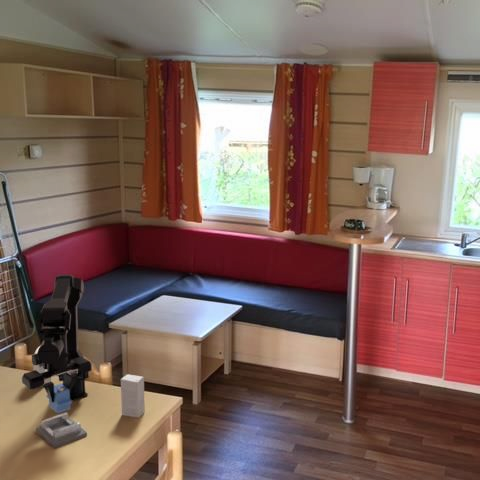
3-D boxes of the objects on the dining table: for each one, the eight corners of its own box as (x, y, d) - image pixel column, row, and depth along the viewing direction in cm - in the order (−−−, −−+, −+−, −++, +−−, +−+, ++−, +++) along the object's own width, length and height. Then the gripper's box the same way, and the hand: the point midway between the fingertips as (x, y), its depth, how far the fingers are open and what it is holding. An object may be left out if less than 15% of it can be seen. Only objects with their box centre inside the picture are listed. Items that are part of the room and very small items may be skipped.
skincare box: (145, 412, 186) (144, 376, 184) (138, 418, 182) (137, 382, 180) (128, 408, 188) (127, 373, 185) (121, 415, 184) (120, 379, 182)
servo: (59, 400, 176) (58, 379, 174) (72, 410, 170) (71, 389, 169) (47, 404, 173) (45, 383, 172) (59, 415, 168) (58, 393, 166)
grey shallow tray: (67, 419, 181) (67, 409, 180) (87, 435, 172) (86, 424, 172) (36, 431, 174) (35, 420, 174) (54, 448, 166) (53, 436, 165)
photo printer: (46, 387, 202) (44, 353, 199) (33, 387, 201) (30, 353, 199) (52, 374, 212) (50, 341, 209) (40, 374, 211) (38, 341, 209)
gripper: (73, 332, 180) (75, 380, 183) (12, 349, 167) (16, 399, 171) (91, 343, 172) (93, 393, 175) (28, 361, 159) (32, 414, 163)
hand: (59, 399), depth 171 cm, fingers closed on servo, 4 cm apart
